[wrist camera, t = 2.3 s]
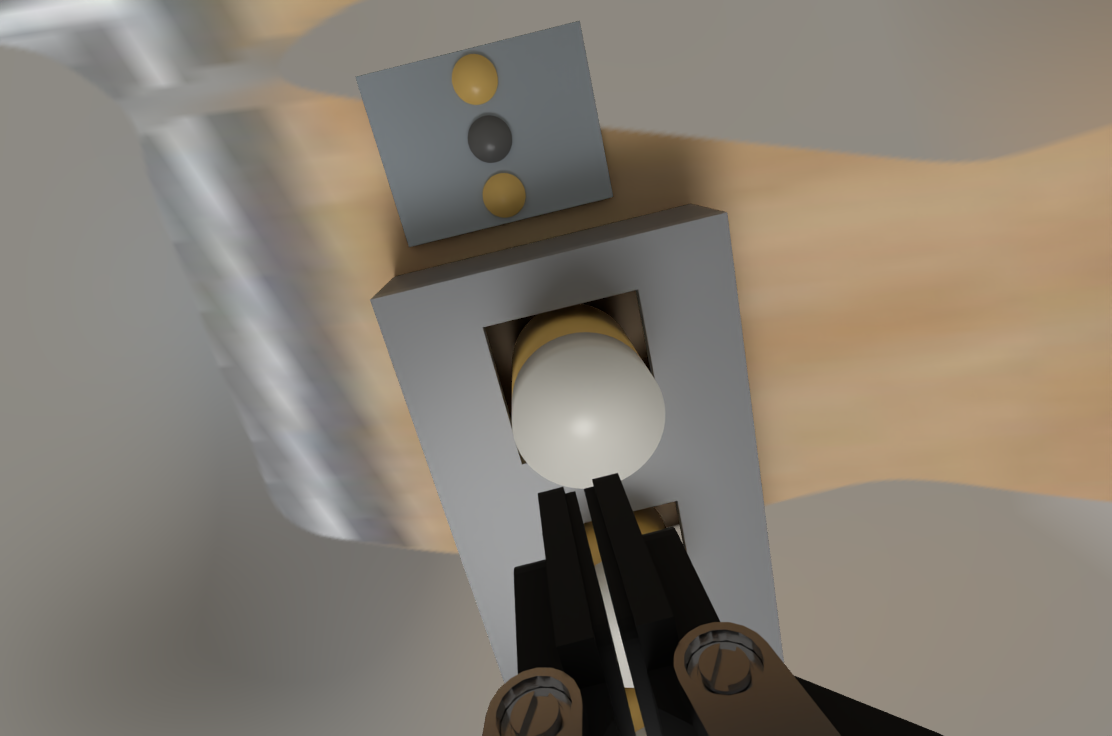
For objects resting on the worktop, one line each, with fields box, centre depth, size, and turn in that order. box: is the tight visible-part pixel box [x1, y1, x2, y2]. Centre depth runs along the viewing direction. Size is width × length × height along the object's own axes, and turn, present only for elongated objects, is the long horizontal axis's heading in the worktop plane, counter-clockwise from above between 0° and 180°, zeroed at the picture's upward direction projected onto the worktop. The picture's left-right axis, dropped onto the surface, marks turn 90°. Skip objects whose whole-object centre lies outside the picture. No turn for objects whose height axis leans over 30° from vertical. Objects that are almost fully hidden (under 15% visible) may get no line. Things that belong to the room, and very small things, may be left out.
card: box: [356, 21, 613, 247], centre depth 21 cm, size 8×6×1 cm
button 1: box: [512, 304, 665, 489], centre depth 20 cm, size 5×5×6 cm
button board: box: [370, 204, 784, 683], centre depth 25 cm, size 12×26×4 cm, turn 13°
